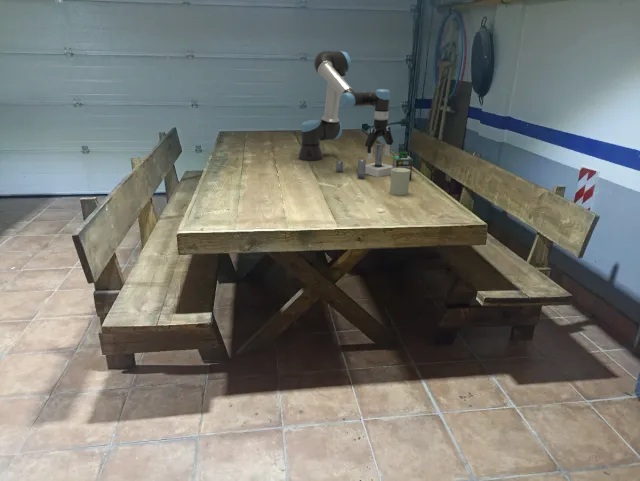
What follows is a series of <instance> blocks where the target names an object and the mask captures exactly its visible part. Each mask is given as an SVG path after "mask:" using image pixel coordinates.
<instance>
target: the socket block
mask: <svg viewBox="0 0 640 481" xmlns="http://www.w3.org/2000/svg"><path fill="white" fill-rule="evenodd" d="M392 167H393V165H390V164H386V163H383V162H382V167H379V168H378V167H375V162H373V163H366V166H365V175H370V176H373V177H376V178H380V177H385V176H391V169H392Z"/></svg>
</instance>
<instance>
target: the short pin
mask: <svg viewBox="0 0 640 481" xmlns="http://www.w3.org/2000/svg"><path fill="white" fill-rule="evenodd" d="M343 172H344V161H343V160H336V161H335V173H341V174H342V173H343Z"/></svg>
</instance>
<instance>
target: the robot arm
mask: <svg viewBox="0 0 640 481" xmlns="http://www.w3.org/2000/svg"><path fill="white" fill-rule="evenodd" d="M351 65H352V61H351V57H350V56H349V53H348V52H346V51H343V50H342V51H341V50H323V51H321V52H319V53H317V55H316V56H315V57H314V61H313V66H314V69H315V72H316V73H317V74H318V76H320V77H323V78H324V80H325V81H326V82H327V87H326V95H325V96H326V97H325V104H324V115H323V116H322V117H321V118H320V119H311V120H310V119H308V120H305V121H303V122H302V123H301V130H300V131H301V142H300V143H301V147H300V150H299V152H298V159H300V160H301V161H309V162H310V161H311V162H312V161H320V160H323V154H322V149H321V142H323V141H333V140H338V139H339V138H340V137H341V136H342V132H343V125H342V122H340V119H339V117H338V116H339V108H340V103H341V105H342V107H344V108H353V107H354V108H356V107H357V108H358V107H374V114H373V115H374V117H373V118H374V119H373V126H374V128H370V129H369V134H368V136H367V139H366V141H365V143H364V146H365V147H367V159H368V160H373V151H374V149H373V148H374V147H373V146H374V144H375V142H376V140H377V139H378V138H379V137H382V138H383V139H384V141H385V143H386V144H384V145H385V146H384V156H385V157H390V150H391V145H393V143H394V139H393V135H392V132H391V127H390V126H388V125H389V124H388V123H389V120H388V119H389V110H390V99H391V97H390V96H391V94H390V92H391V91H390V89H387V88H386V89H384V88H379V89H376V90H375V91H371V90H368V91H367V90H366V91H360V92H359V91H358V92H357V91H355V90H354V89H353V88H352V87H351V85H349V84H348V82H347V81H346V80H345V79H344V78H345V77H346V73H347V72H349V71H350V70H351V67H352V66H351Z"/></svg>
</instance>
